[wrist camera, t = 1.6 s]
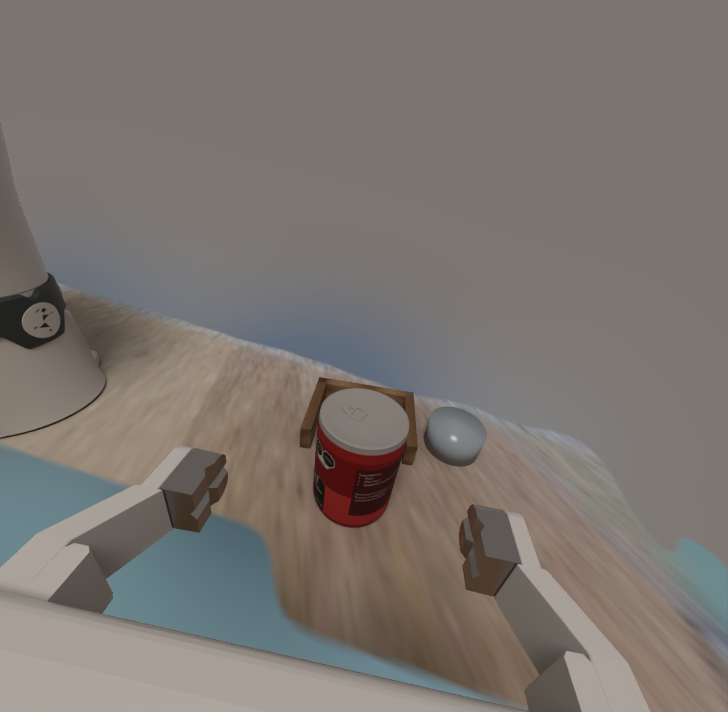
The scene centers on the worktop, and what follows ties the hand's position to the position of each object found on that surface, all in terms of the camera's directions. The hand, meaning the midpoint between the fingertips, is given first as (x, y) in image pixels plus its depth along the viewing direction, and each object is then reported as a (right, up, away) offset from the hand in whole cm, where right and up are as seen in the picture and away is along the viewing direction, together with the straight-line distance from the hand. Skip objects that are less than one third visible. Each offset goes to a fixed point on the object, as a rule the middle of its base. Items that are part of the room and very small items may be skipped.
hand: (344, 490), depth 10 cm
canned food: (-1, -10, +23) cm, 25 cm away
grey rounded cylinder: (+12, -7, +31) cm, 34 cm away
